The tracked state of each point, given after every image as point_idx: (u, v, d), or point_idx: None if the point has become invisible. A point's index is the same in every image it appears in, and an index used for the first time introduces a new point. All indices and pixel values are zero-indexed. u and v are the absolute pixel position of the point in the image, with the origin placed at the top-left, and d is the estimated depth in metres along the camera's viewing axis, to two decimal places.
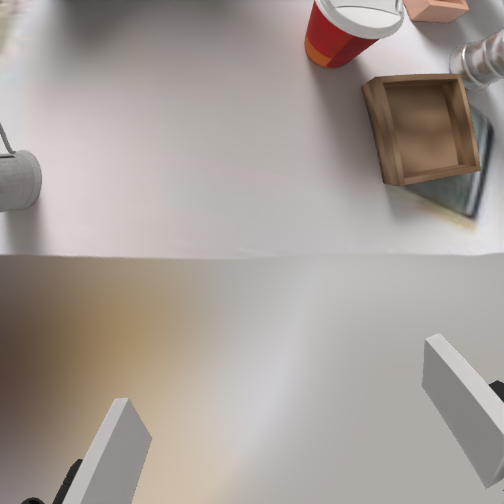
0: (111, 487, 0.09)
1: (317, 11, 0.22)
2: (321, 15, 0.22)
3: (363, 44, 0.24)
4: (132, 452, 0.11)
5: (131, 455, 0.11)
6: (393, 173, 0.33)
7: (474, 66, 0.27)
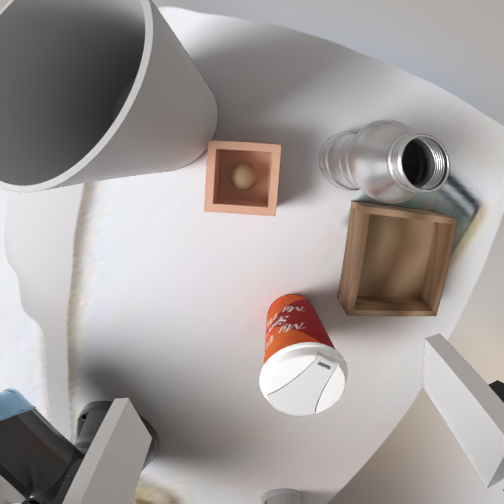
0: (111, 487, 0.09)
1: None
2: None
3: None
4: (132, 452, 0.11)
5: (130, 455, 0.11)
6: None
7: None
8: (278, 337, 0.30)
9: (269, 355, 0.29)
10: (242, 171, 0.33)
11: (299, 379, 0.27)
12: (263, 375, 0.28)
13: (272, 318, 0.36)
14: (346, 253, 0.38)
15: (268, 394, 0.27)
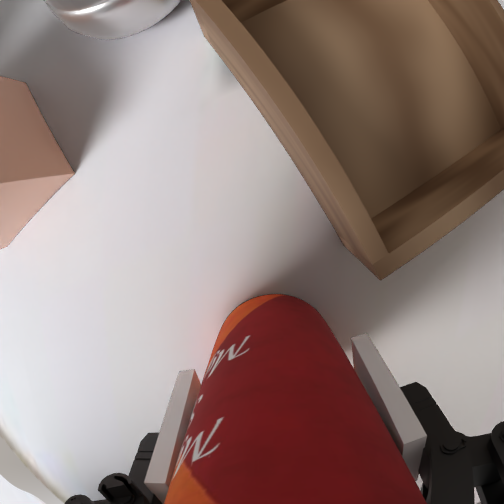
0: None
1: None
2: None
3: (411, 474, 0.06)
4: None
5: None
6: None
7: None
8: None
9: None
10: None
11: None
12: None
13: None
14: (278, 135, 0.14)
15: None
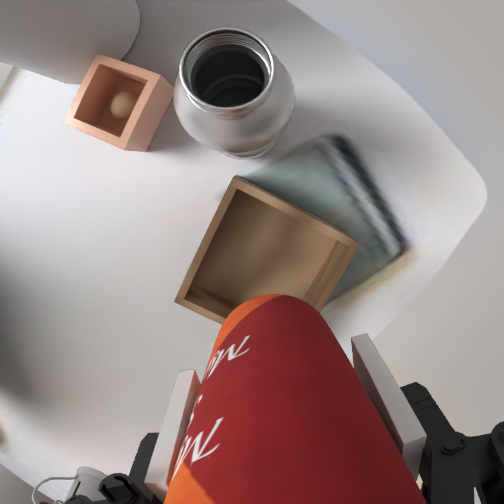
0: None
1: None
2: None
3: None
4: None
5: None
6: None
7: None
8: None
9: None
10: (121, 98, 0.26)
11: None
12: None
13: None
14: None
15: None
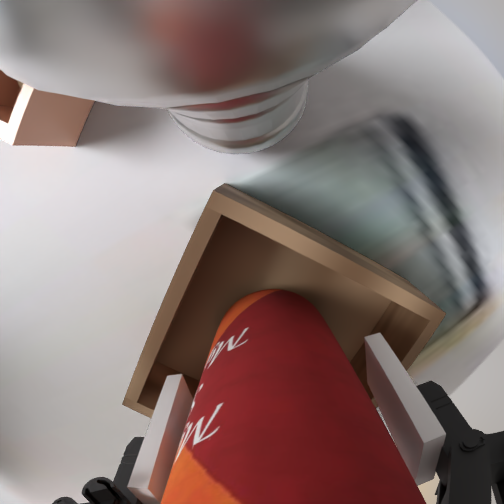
0: (173, 461, 0.10)
1: None
2: None
3: (403, 460, 0.07)
4: None
5: None
6: None
7: (213, 134, 0.11)
8: None
9: None
10: None
11: None
12: None
13: None
14: None
15: None
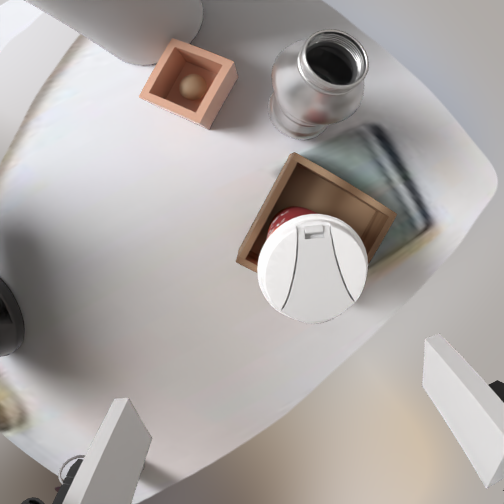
0: (111, 487, 0.09)
1: None
2: None
3: None
4: (132, 452, 0.11)
5: (131, 455, 0.11)
6: None
7: (298, 130, 0.29)
8: None
9: None
10: (192, 79, 0.30)
11: (300, 269, 0.22)
12: (265, 292, 0.24)
13: None
14: None
15: (282, 309, 0.23)
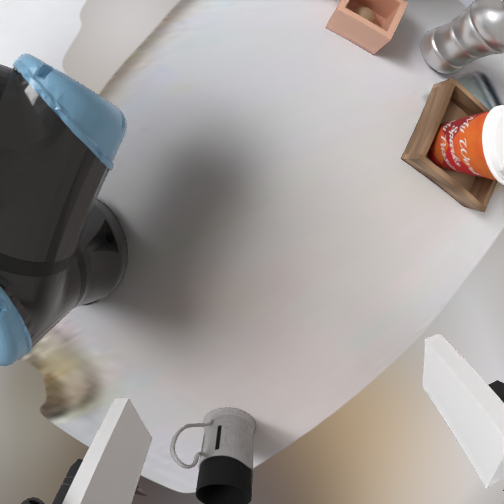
0: (111, 487, 0.09)
1: None
2: None
3: None
4: (132, 452, 0.11)
5: (130, 455, 0.11)
6: (472, 205, 0.35)
7: (457, 61, 0.28)
8: (468, 132, 0.26)
9: (476, 144, 0.24)
10: (368, 9, 0.29)
11: None
12: (488, 156, 0.23)
13: (442, 142, 0.31)
14: (421, 119, 0.35)
15: (503, 168, 0.22)
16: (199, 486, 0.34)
